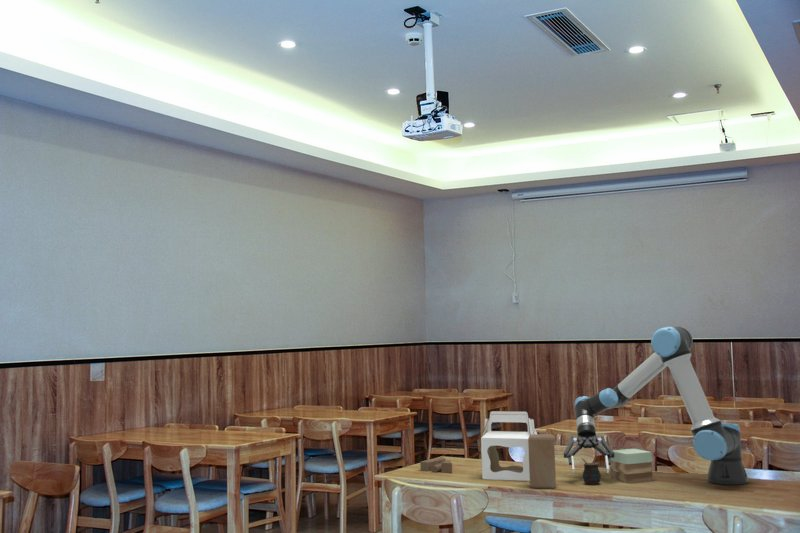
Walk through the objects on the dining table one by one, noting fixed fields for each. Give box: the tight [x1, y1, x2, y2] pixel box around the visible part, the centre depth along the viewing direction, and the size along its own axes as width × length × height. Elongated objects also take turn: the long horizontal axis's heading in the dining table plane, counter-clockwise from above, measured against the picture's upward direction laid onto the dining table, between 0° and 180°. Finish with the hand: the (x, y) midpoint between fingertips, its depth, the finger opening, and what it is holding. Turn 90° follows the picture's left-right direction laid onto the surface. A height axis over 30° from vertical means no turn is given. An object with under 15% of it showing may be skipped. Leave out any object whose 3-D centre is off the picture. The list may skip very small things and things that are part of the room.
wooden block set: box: [420, 456, 453, 474], centre depth 376 cm, size 17×6×18 cm
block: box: [528, 433, 557, 489], centre depth 328 cm, size 10×10×20 cm
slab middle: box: [609, 461, 653, 474], centre depth 337 cm, size 12×12×4 cm
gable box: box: [480, 410, 538, 482], centre depth 351 cm, size 22×13×28 cm, turn 68°
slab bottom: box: [609, 469, 654, 484], centre depth 337 cm, size 12×12×4 cm
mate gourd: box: [581, 457, 602, 486], centre depth 331 cm, size 7×8×10 cm
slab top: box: [610, 448, 653, 464], centre depth 338 cm, size 12×12×4 cm
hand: (590, 471), depth 330 cm, fingers open, 13 cm apart
